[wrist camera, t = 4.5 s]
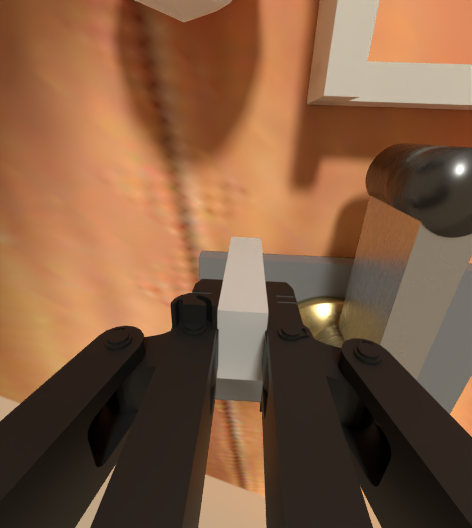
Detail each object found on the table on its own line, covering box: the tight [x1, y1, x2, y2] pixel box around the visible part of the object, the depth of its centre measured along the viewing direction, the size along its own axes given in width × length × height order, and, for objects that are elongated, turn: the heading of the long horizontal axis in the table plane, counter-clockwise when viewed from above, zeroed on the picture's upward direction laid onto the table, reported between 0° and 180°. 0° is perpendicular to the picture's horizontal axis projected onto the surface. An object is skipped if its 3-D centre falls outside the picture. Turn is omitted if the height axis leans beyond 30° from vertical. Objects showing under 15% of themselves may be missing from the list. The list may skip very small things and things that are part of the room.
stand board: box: [199, 251, 472, 414], centre depth 22 cm, size 22×14×1 cm, turn 88°
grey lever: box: [297, 144, 472, 380], centre depth 16 cm, size 9×19×7 cm, turn 178°
